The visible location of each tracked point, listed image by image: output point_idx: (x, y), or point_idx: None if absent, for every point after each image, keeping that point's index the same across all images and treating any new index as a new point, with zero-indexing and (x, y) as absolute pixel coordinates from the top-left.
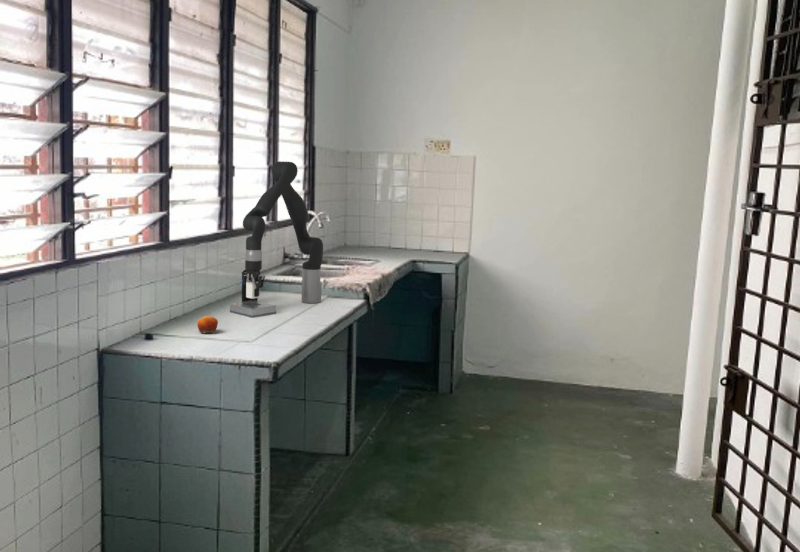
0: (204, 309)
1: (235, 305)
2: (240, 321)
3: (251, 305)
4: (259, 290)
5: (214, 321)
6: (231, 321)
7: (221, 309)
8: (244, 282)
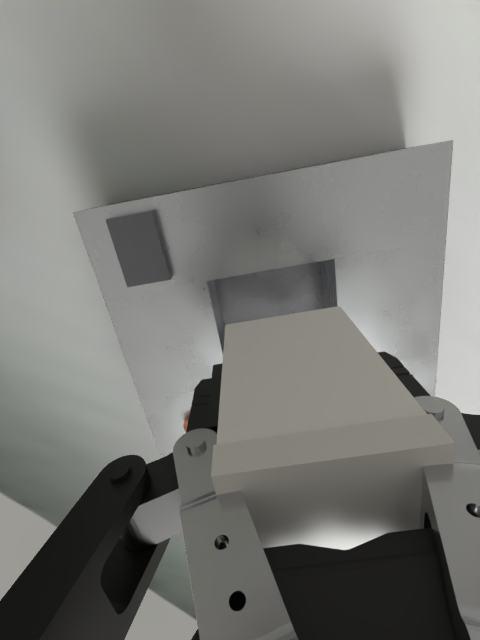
0: (33, 484)
1: None
2: None
3: (213, 300)
4: (375, 355)
5: None
6: None
7: (63, 414)
8: (139, 569)
